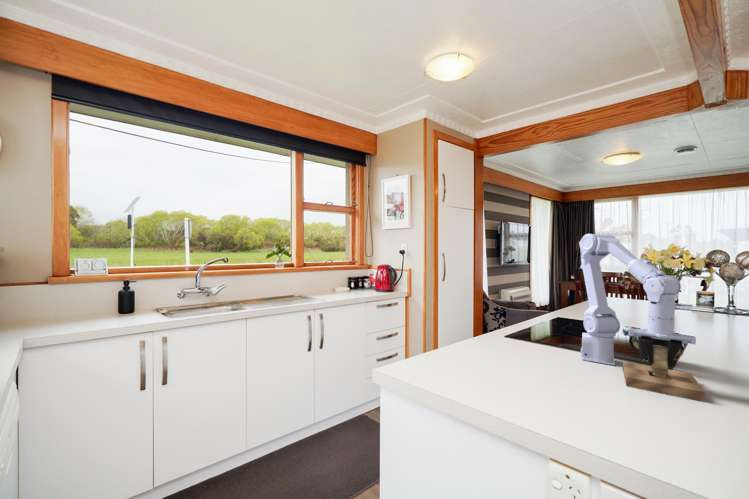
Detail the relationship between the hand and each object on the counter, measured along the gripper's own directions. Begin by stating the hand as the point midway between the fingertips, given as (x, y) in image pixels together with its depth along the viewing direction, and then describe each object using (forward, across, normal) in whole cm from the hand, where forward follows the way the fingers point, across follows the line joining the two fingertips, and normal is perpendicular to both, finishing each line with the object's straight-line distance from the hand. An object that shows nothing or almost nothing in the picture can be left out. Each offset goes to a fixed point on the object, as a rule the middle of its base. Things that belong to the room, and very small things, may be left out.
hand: (659, 364), depth 95 cm
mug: (+6, 0, +26) cm, 27 cm away
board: (+6, 0, 0) cm, 6 cm away
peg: (+3, 0, 0) cm, 3 cm away
